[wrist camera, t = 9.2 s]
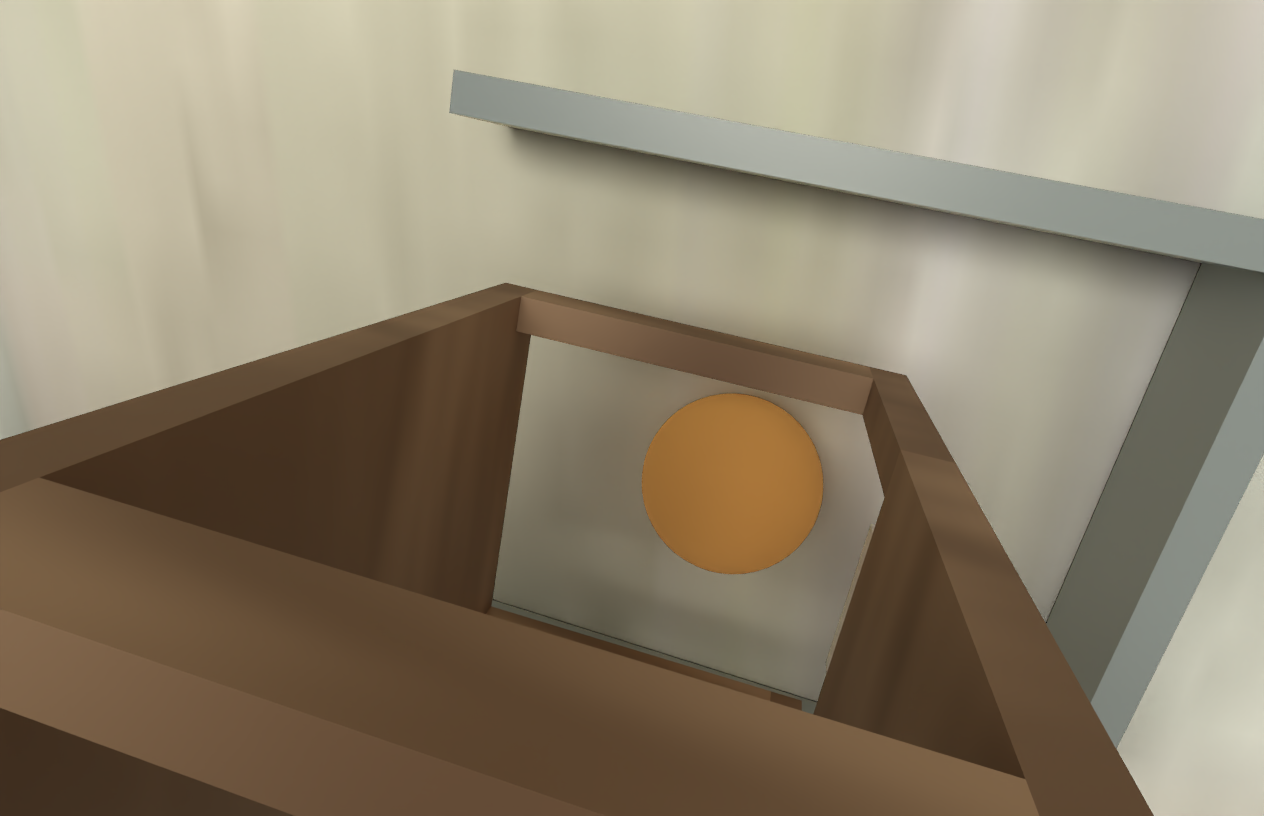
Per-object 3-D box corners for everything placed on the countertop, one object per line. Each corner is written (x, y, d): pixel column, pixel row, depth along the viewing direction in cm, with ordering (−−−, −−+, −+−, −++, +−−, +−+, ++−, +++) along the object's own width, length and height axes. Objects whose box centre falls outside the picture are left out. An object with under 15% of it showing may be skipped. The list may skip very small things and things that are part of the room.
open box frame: (460, 622, 15) (-77, 1303, 6) (505, 282, 13) (-258, 520, 4) (793, 725, 14) (777, 1752, 5) (906, 376, 12) (1284, 1049, 3)
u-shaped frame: (447, 609, 22) (392, 670, 19) (513, 90, 17) (454, 69, 14) (1010, 791, 19) (1043, 894, 16) (1263, 230, 14) (1370, 239, 12)
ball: (623, 593, 15) (814, 625, 15) (659, 410, 14) (866, 447, 14) (631, 508, 19) (783, 535, 19) (659, 360, 18) (822, 388, 18)
